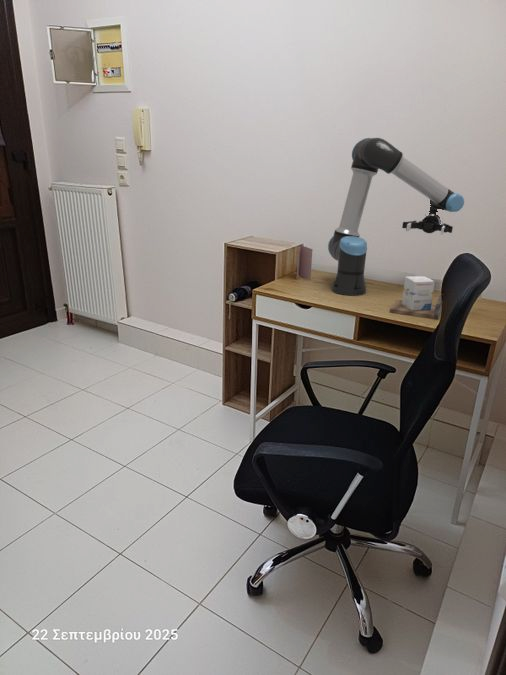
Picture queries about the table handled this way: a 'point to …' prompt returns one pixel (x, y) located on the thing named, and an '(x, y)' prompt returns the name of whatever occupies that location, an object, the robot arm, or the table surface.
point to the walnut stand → (432, 313)
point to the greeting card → (304, 262)
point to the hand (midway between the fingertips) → (424, 229)
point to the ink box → (418, 293)
